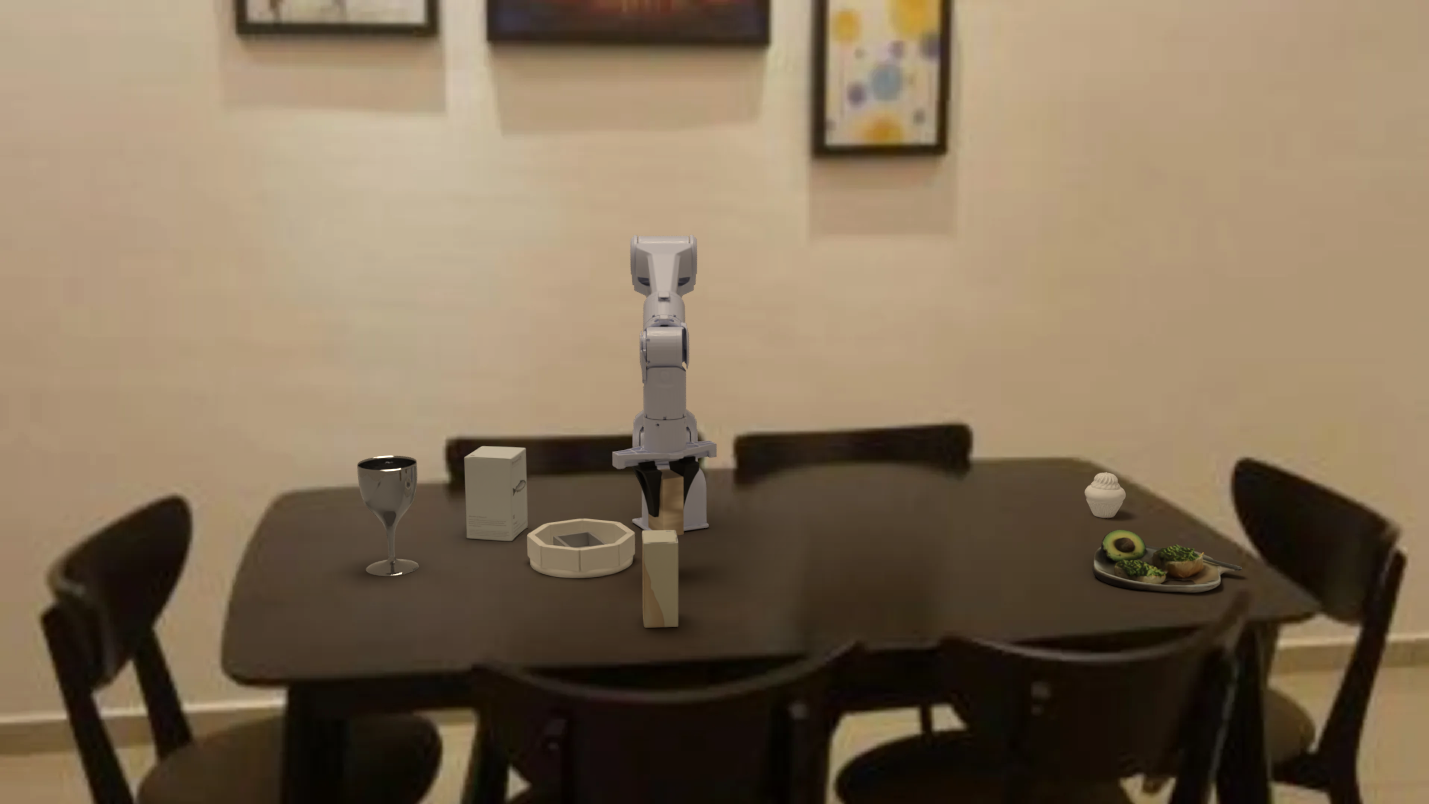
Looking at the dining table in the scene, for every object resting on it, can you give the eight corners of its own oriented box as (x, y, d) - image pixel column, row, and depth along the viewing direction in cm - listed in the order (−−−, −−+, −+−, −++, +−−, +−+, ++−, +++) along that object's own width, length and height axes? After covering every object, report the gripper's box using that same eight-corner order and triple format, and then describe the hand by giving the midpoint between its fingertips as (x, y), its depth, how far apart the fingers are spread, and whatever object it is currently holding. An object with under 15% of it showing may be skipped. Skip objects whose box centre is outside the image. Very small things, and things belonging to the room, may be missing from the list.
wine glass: (432, 562, 193) (427, 458, 190) (402, 579, 186) (396, 472, 182) (383, 556, 195) (377, 453, 192) (351, 573, 188) (345, 467, 185)
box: (642, 613, 173) (641, 529, 171) (676, 612, 173) (676, 528, 171) (643, 629, 168) (642, 542, 166) (679, 628, 168) (678, 541, 166)
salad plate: (1237, 562, 194) (1240, 530, 193) (1245, 604, 177) (1248, 570, 176) (1095, 549, 200) (1097, 518, 199) (1090, 589, 183) (1091, 556, 182)
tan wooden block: (668, 524, 190) (667, 468, 188) (683, 534, 185) (683, 477, 184) (648, 527, 188) (647, 470, 187) (663, 537, 184) (662, 479, 182)
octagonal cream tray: (609, 540, 203) (609, 514, 202) (649, 568, 190) (648, 540, 189) (516, 553, 196) (515, 527, 196) (550, 584, 184) (549, 555, 183)
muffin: (1080, 518, 214) (1083, 474, 212) (1086, 508, 219) (1088, 465, 218) (1122, 522, 212) (1125, 478, 210) (1126, 512, 217) (1129, 469, 216)
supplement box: (513, 542, 202) (510, 458, 199) (465, 539, 203) (462, 456, 201) (529, 527, 209) (527, 446, 206) (483, 524, 210) (480, 444, 208)
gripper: (626, 427, 177) (627, 528, 180) (726, 416, 183) (726, 514, 186) (605, 416, 183) (607, 514, 186) (703, 406, 189) (703, 501, 192)
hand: (665, 513), depth 186 cm, fingers closed on tan wooden block, 3 cm apart
